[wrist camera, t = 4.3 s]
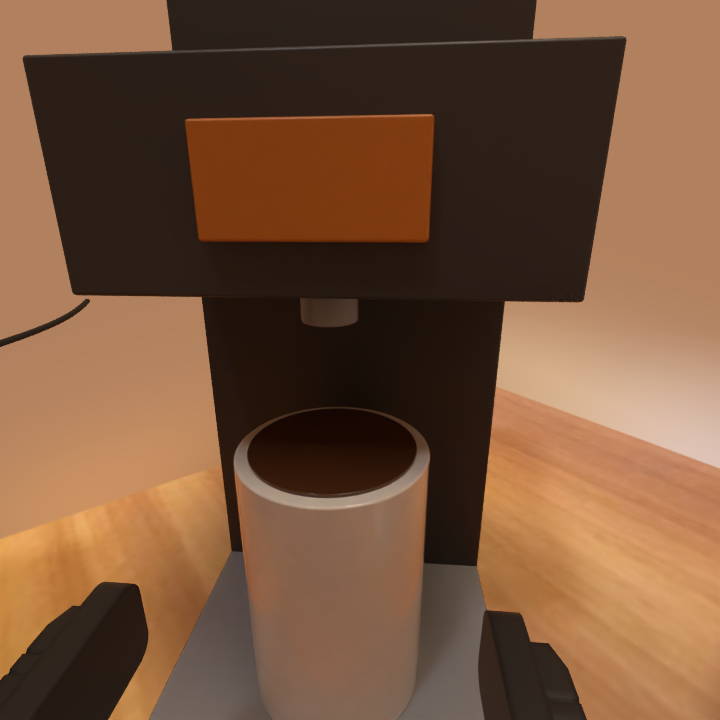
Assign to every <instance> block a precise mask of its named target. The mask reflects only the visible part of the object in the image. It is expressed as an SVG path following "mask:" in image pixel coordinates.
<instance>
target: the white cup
mask: <svg viewBox="0 0 720 720" xmlns="http://www.w3.org/2000/svg"><path fill="white" fill-rule="evenodd" d="M233 466H234V475H235V484H236V493H237V503H238V512H239V521H240V530H241V540H242V549H243V558H244V567H245V576H246V586H247V595H248V604H249V613H250V623H251V632H252V641H253V650H254V659H255V669H256V678H257V685H258V691H259V694H260V697H261V700H262V703H263V705H264V707H265V709H266V711H267V712H268V714H269V715H270V717H271V718H272V720H397V719H398V717H399V716H400V715H401V714H402V712H403V711H404V709H405V708H406V706H407V705H408V703H409V701H410V699H411V697H412V694H413V691H414V688H415V685H416V680H417V675H418V659H419V642H420V624H421V607H422V589H423V572H424V554H425V537H426V519H427V502H428V484H429V467H430V451H429V447H428V445H427V443H426V440H425V439H424V437H423V436H422V435H421V434H420V433H419V432H418V431H417V430H416V429H415V428H414V427H412V426H411V425H410V424H408V423H406V422H404V421H403V420H401V419H398V418H396V417H394V416H391V415H388V414H385V413H382V412H378V411H374V410H368V409H362V408H353V407H323V408H313V409H307V410H301V411H297V412H293V413H289V414H285V415H282V416H280V417H277V418H274V419H272V420H270V421H268V422H266V423H264V424H262V425H260V426H258V427H257V428H255V429H254V430H253V431H251V432H250V433H249V434H248V435H247V436H246V437H245V438H244V439H243V440H242V441H241V442H240V444H239V446H238V447H237V449H236V452H235V455H234V462H233Z"/></svg>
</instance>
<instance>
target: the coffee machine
mask: <svg viewBox="0 0 720 720" xmlns="http://www.w3.org/2000/svg"><path fill="white" fill-rule="evenodd" d="M536 1H537V0H167V8H168V16H169V25H170V33H171V41H172V50H173V51H147V52H117V53H116V52H115V53H85V54H53V55H26V56H24V57H23V63H24V68H25V72H26V77H27V81H28V86H29V91H30V96H31V100H32V105H33V110H34V115H35V119H36V124H37V129H38V133H39V138H40V143H41V147H42V152H43V157H44V161H45V166H46V171H47V176H48V180H49V185H50V190H51V194H52V199H53V204H54V208H55V213H56V217H57V222H58V227H59V232H60V236H61V241H62V246H63V251H64V255H65V260H66V264H67V269H68V273H69V278H70V283H71V288H72V292H73V294H75V295H102V296H171V297H202V304H203V312H204V320H205V329H206V337H207V345H208V353H209V362H210V370H211V380H212V387H213V396H214V404H215V413H216V422H217V430H218V438H219V447H220V455H221V464H222V472H223V481H224V489H225V498H226V506H227V515H228V523H229V532H230V540H231V548H232V552H231V553H230V555H229V557H228V559H227V562H226V564H225V566H224V568H223V570H222V572H221V574H220V576H219V578H218V580H217V582H216V584H215V586H214V588H213V590H212V592H211V594H210V596H209V598H208V600H207V602H206V604H205V606H204V608H203V610H202V612H201V614H200V616H199V618H198V620H197V622H196V624H195V627H194V629H193V631H192V633H191V635H190V637H189V639H188V641H187V643H186V645H185V647H184V649H183V651H182V653H181V655H180V657H179V659H178V661H177V663H176V665H175V667H174V669H173V671H172V673H171V675H170V677H169V679H168V681H167V683H166V685H165V687H164V689H163V692H162V694H161V696H160V698H159V700H158V702H157V704H156V706H155V708H154V710H153V712H152V714H151V716H150V718H149V720H272V718H271V717H270V715H269V714H268V712H267V711H266V709H265V707H264V705H263V703H262V700H261V697H260V694H259V691H258V685H257V678H256V669H255V659H254V650H253V641H252V632H251V623H250V613H249V604H248V595H247V586H246V576H245V567H244V558H243V549H242V540H241V530H240V521H239V512H238V503H237V493H236V484H235V475H234V466H233V462H234V455H235V452H236V449H237V447H238V446H239V444H240V442H241V441H242V440H243V439H244V438H245V437H246V436H247V435H248V434H249V433H250V432H251V431H253V430H254V429H255V428H257V427H258V426H260V425H262V424H264V423H266V422H268V421H270V420H272V419H274V418H277V417H280V416H282V415H285V414H289V413H293V412H297V411H301V410H307V409H313V408H323V407H353V408H362V409H368V410H374V411H378V412H382V413H385V414H388V415H391V416H394V417H396V418H398V419H401V420H403V421H404V422H406V423H408V424H410V425H411V426H412V427H414V428H415V429H416V430H417V431H418V432H419V433H420V434H421V435H422V436H423V437H424V439H425V440H426V443H427V445H428V447H429V451H430V467H429V484H428V502H427V519H426V537H425V554H424V572H423V589H422V607H421V624H420V642H419V659H418V675H417V680H416V685H415V688H414V691H413V694H412V697H411V699H410V701H409V703H408V705H407V706H406V708H405V709H404V711H403V712H402V714H401V715H400V716H399V717H398V719H397V720H484V714H483V708H482V702H481V696H480V689H479V679H478V657H479V648H480V640H481V632H482V623H483V615H484V612H485V610H486V605H485V601H484V596H483V592H482V587H481V583H480V578H479V574H478V569H477V559H478V549H479V540H480V530H481V521H482V511H483V502H484V492H485V483H486V474H487V464H488V455H489V445H490V436H491V426H492V417H493V407H494V398H495V389H496V379H497V378H496V377H497V369H498V360H499V351H500V341H501V331H502V322H503V313H504V304H505V301H521V302H525V301H526V302H582V301H583V300H584V295H585V289H586V283H587V277H588V270H589V265H590V258H591V252H592V246H593V240H594V234H595V228H596V222H597V216H598V210H599V204H600V198H601V192H602V185H603V179H604V173H605V167H606V161H607V155H608V149H609V143H610V136H611V131H612V124H613V118H614V112H615V106H616V100H617V94H618V88H619V82H620V76H621V70H622V63H623V58H624V51H625V45H626V38H625V37H623V36H615V37H585V38H554V39H533V30H534V20H535V10H536Z"/></svg>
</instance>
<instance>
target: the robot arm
mask: <svg viewBox="0 0 720 720" xmlns="http://www.w3.org/2000/svg"><path fill="white" fill-rule="evenodd" d="M89 302H90V300H89V299H85V300H84V301H83V302H82V303H81V304H80V305H79V306H77V307H76V308H75V309H73V310H72V311H70V312H69V313H67V314H65V315H64V316H61V317H60V318H57V319H56V320H53V321H51V322H49V323H47V324H44V325H42V326H39V327H36V328H34V329H31V330H28V331H26V332H23V333H20V334H17V335H14V336H11V337H8V338H5V339H2V340H0V347H2V346H4V345H7V344H10V343H13V342H16V341H19V340H21V339H24V338H27V337H30V336H32V335H35V334H37V333H40V332H42V331H44V330H47V329H49V328H52V327H54V326H56V325H58V324H60V323H62V322H64V321H66V320H68V319H69V318H71V317H73V316H74V315H76V314H77V313H78V312H80V311H81V310H82V309H83V308H84V307H86V305H87V304H88V303H89ZM147 643H148V627H147V623H146V618H145V613H144V608H143V604H142V599H141V594H140V590H139V587H138V586H137V585H136V584H129V583H115V582H102V583H100V584H99V585H98V586H97V587H96V588H95V589H94V590H93V591H92V592H91V594H90V595H89V596H88V597H87V598H86V600H85V601H84V602H83V603H82V605H81V606H72V607H71V608H69V609H68V610H67V611H65V612H64V613H63V614H61V615H60V616H59V617H57V618H56V619H55V620H53V621H52V622H51V623H50V624H48V625H47V626H46V627H45V628H44V630H43V631H42V632H41V633H40V634H39V636H38V637H37V638H36V639H35V640H34V641H33V643H32V644H31V645H30V646H29V647H28V648H27V652H26V653H25V654H22V656H21V657H20V658H19V659H18V660H17V661H16V663H15V664H14V665H13V666H12V667H11V668H10V672H9V673H8V675H5V676H4V677H3V678H2V679H1V680H0V720H108V719H109V717H110V715H111V713H112V712H113V710H114V708H115V707H116V705H117V703H118V701H119V700H120V698H121V696H122V694H123V693H124V691H125V689H126V687H127V686H128V684H129V682H130V680H131V679H132V677H133V675H134V673H135V672H136V670H137V668H138V666H139V665H140V663H141V661H142V659H143V656H144V654H145V651H146V647H147ZM478 679H479V689H480V696H481V702H482V708H483V714H484V720H587V719H586V716H585V714H584V711H583V708H582V705H581V704H580V703H579V697H578V695H577V692H576V689H575V687H574V684H573V681H572V678H571V676H570V673H569V670H568V668H567V667H566V666H565V664H564V663H563V662H562V660H561V659H560V658H559V656H558V655H557V654H556V652H555V651H554V650H553V649H552V647H551V646H550V645H549V643H536V642H530V639H529V636H528V633H527V630H526V626H525V623H524V620H523V617H522V615H521V614H520V613H517V612H503V611H489V610H485V612H484V615H483V623H482V632H481V640H480V648H479V657H478Z"/></svg>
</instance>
